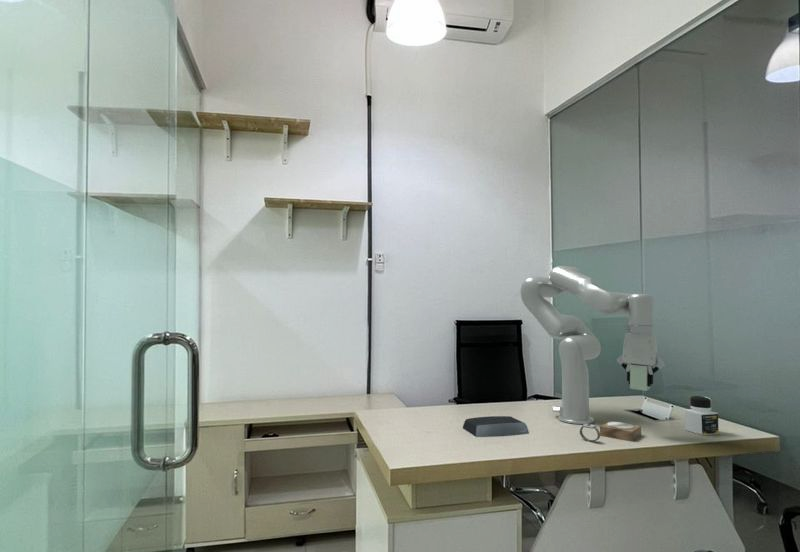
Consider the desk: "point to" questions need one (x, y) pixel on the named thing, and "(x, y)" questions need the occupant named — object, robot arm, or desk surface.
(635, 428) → the pedestal
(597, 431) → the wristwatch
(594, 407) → the desk surface
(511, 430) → the external hard drive
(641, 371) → the sage block
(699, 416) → the medicine bottle
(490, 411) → the desk surface
